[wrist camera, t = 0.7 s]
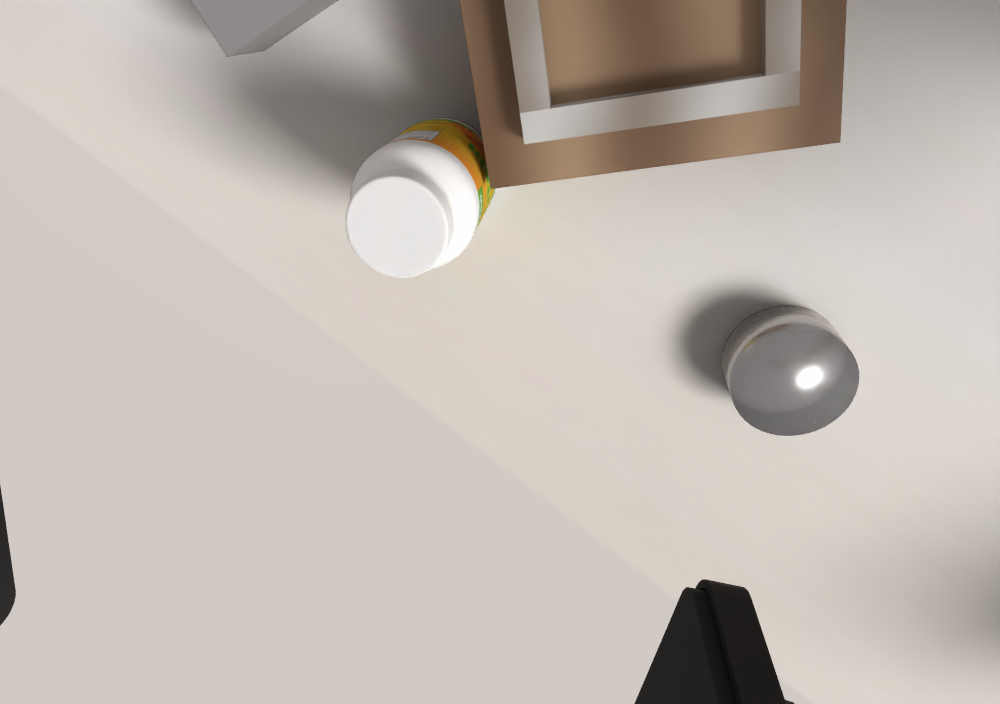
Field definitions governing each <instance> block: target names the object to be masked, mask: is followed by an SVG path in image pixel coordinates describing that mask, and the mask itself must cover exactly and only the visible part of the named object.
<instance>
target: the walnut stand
mask: <svg viewBox="0 0 1000 704" xmlns="http://www.w3.org/2000/svg"><path fill="white" fill-rule="evenodd" d="M846 2H847V0H460V6H461V12H462V18H463V24H464V30H465V36H466V42H467V48H468V54H469V60H470V66H471V72H472V79H473V85H474V91H475V97H476V103H477V109H478V115H479V121H480V127H481V133H482V139H483V145H484V151H485V157H486V163H487V169H488V175H489V182H490V188H491V189H494V188H501V187H509V186H516V185H524V184H531V183H539V182H546V181H554V180H561V179H569V178H576V177H584V176H591V175H599V174H606V173H614V172H621V171H629V170H636V169H644V168H651V167H659V166H666V165H674V164H681V163H689V162H696V161H704V160H711V159H719V158H726V157H734V156H741V155H749V154H756V153H764V152H771V151H779V150H786V149H793V148H801V147H808V146H816V145H823V144H831V143H838V142H840V136H841V114H842V91H843V69H844V47H845V24H846Z"/></svg>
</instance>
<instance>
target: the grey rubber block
mask: <svg viewBox="0 0 1000 704" xmlns="http://www.w3.org/2000/svg"><path fill="white" fill-rule="evenodd" d="M336 1H338V0H191V2H192V3H193V5H194V6H195V8H196V9H197V11H198V12H199V14H200V15H201V17H202V18H203V20H204V22H205V23H206V25H207V26H208V28H209V29H210V31H211V32H212V34H213V35H214V37H215V38H216V40H217V42H218V43H219V45H220V46H221V48H222V49H223V51H224V52H225V54H226V55H227V57H229V56H235V55H241V54H247V53H253V52H259V51H264V50H266V49H267V48H269V47H270V46H272V45H273V44H275V43H276V42H278V41H279V40H281V39H282V38H283V37H285V36H286V35H288V34H289V33H291V32H292V31H294V30H295V29H297V28H298V27H300V26H301V25H303V24H304V23H305V22H307V21H308V20H310V19H311V18H313V17H314V16H316V15H317V14H319V13H320V12H322V11H323V10H324V9H326V8H327V7H329V6H330V5H332V4H333V3H335V2H336Z"/></svg>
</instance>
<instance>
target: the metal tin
mask: <svg viewBox="0 0 1000 704" xmlns="http://www.w3.org/2000/svg"><path fill="white" fill-rule="evenodd" d="M722 370H723V374H724V377H725V380H726V383H727V386H728V389H729V391H730V394H731V397H732V400H733V403H734V405H735V407H736V409H737V411H738V412H739V414H740V415H741V416H742V418H743V419H744V420H745V421H747V422H748V423H749V424H750V425H752V426H753V427H755V428H757V429H759V430H761V431H764V432H767V433H770V434H775V435H783V436H794V435H802V434H806V433H810V432H813V431H816V430H818V429H821V428H823V427H825V426H827V425H828V424H830V423H832V422H833V421H834V420H836V419H837V418H838V417H839V416H840V415H841V414H842V413H844V411H845V410H846V409H847V408H848V407H849V405H850V404H851V402H852V400H853V398H854V396H855V394H856V391H857V388H858V383H859V370H858V365H857V362H856V359H855V357H854V356H853V354H852V352H851V351H850V349H849V348H848V347H847V345H846V344H845V343H844V341H843V340H842V338H841V337H840V336H839V334H838V333H837V332H836V330H835V329H834V327H833V326H832V325H831V324H830V322H829V321H827V320H826V319H825V318H824V317H823V316H821V315H820V314H818V313H816V312H814V311H812V310H809V309H806V308H802V307H797V306H779V307H773V308H769V309H765V310H763V311H760V312H758V313H756V314H754V315H752V316H750V317H749V318H747V319H746V320H744V321H743V322H742V323H741V324H740V325H738V326H737V328H736V329H735V330H734V331H733V332H732V334H731V335H730V337H729V338H728V340H727V342H726V344H725V347H724V350H723V355H722Z"/></svg>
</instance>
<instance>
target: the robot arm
mask: <svg viewBox="0 0 1000 704" xmlns="http://www.w3.org/2000/svg"><path fill="white" fill-rule="evenodd" d="M15 592H16V591H15V584H14V577H13V570H12V563H11V556H10V549H9V543H8V535H7V529H6V522H5V515H4V508H3V501H2V495H1V488H0V625H1V624H2V623H3V622H4V620H5V619H6V617H7V616H8V615H9V613H10V611H11V609H12V606H13V604H14V601H15V596H16V593H15ZM635 704H794V703H793V702H790V701H787V700H785V699H784V696H783V693H782V690H781V687H780V684H779V681H778V678H777V675H776V672H775V669H774V666H773V663H772V660H771V657H770V654H769V651H768V648H767V645H766V642H765V639H764V636H763V633H762V630H761V626H760V623H759V620H758V617H757V614H756V611H755V608H754V605H753V602H752V599H751V596H750V594H749V592H748V590H746V589H745V588H744V587H740V586H735V585H730V584H725V583H720V582H715V581H710V580H701V581H700V582H699V583H698V585H697V587H696V588H695V589H694V588H689V587H686V588H685V589H684V590H683V592H682V594H681V596H680V599H679V601H678V603H677V606H676V608H675V610H674V613H673V615H672V617H671V620H670V622H669V624H668V627H667V629H666V631H665V634H664V636H663V638H662V641H661V643H660V646H659V648H658V650H657V653H656V655H655V657H654V660H653V662H652V664H651V666H650V669H649V671H648V674H647V676H646V678H645V681H644V683H643V685H642V688H641V690H640V692H639V695H638V697H637V699H636V702H635Z"/></svg>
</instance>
